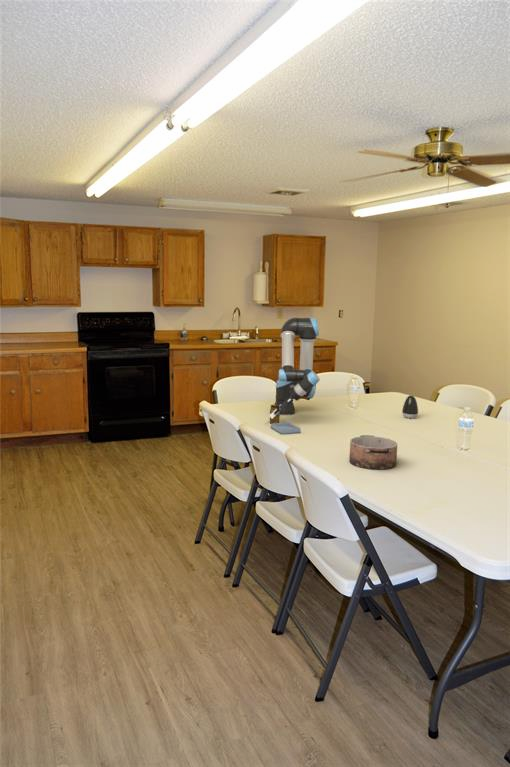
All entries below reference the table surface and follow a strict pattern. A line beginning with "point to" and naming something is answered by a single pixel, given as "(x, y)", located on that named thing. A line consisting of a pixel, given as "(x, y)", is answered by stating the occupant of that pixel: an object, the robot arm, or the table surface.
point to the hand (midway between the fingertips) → (272, 414)
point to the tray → (285, 428)
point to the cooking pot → (373, 452)
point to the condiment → (276, 418)
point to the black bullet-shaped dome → (410, 407)
